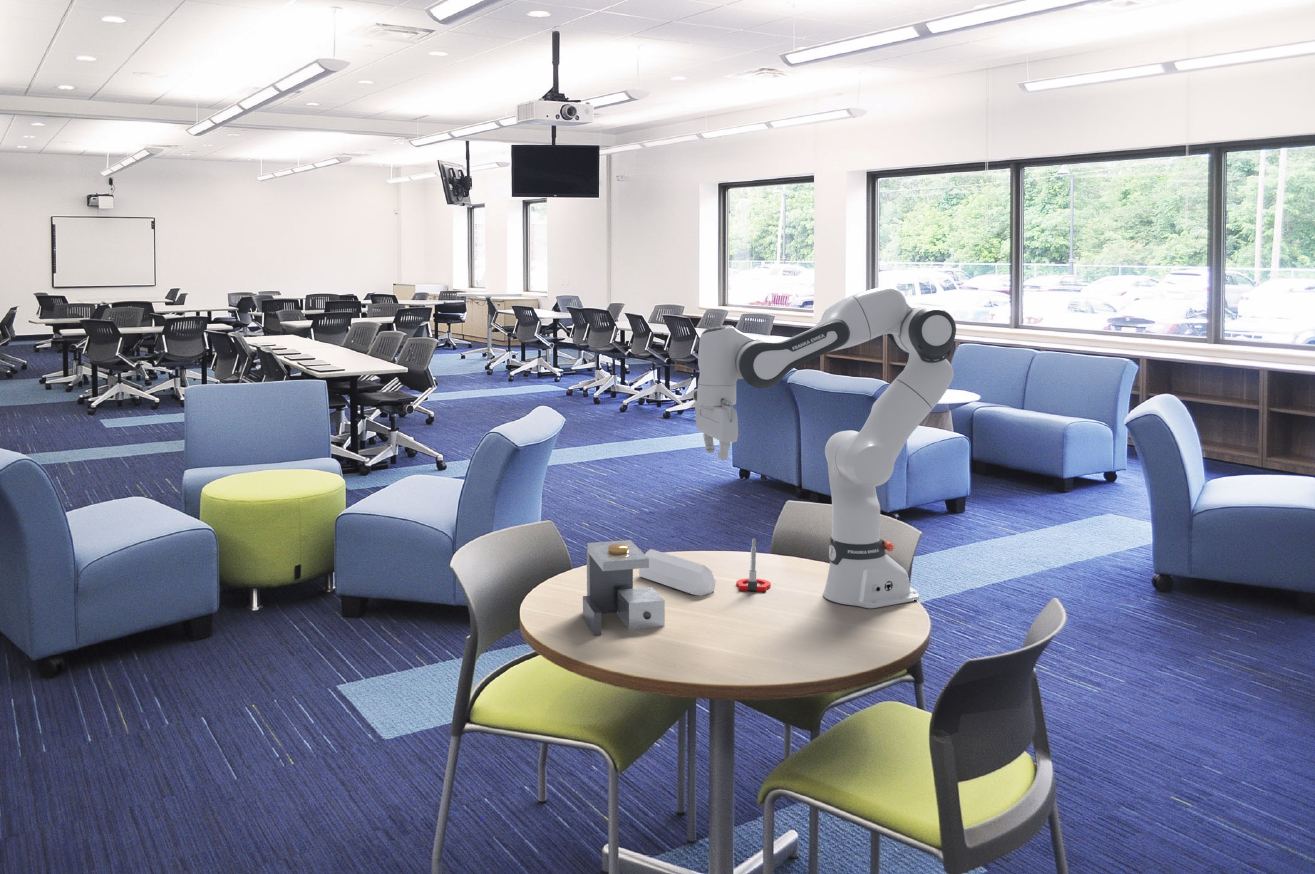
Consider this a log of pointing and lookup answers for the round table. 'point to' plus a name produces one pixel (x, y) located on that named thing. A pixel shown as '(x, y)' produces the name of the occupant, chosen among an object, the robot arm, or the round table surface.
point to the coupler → (609, 577)
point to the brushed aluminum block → (641, 608)
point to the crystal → (678, 573)
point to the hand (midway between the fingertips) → (716, 455)
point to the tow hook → (753, 577)
